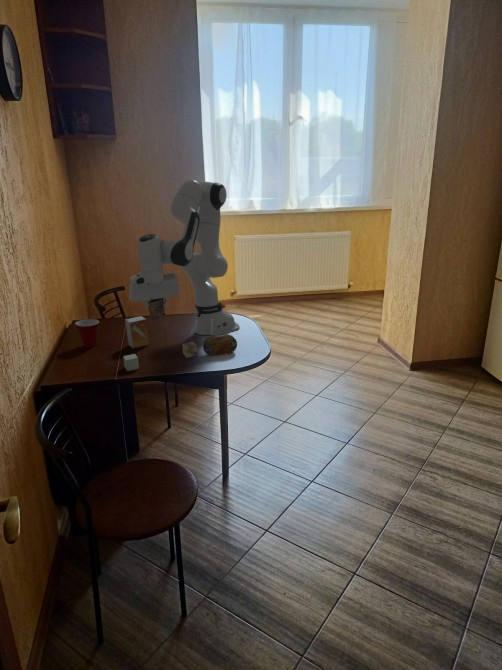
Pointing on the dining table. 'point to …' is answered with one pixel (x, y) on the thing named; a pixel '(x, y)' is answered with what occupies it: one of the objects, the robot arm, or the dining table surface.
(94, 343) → the plastic cup
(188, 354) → the cream rounded lump
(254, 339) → the dining table surface
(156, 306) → the lighter
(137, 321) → the small box
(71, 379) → the dining table surface
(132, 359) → the sage block
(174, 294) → the robot arm
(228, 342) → the tin
